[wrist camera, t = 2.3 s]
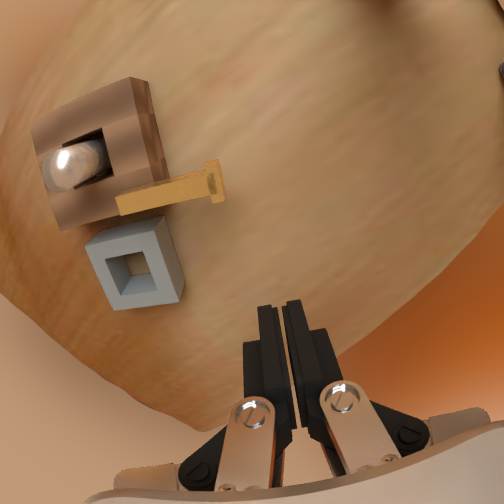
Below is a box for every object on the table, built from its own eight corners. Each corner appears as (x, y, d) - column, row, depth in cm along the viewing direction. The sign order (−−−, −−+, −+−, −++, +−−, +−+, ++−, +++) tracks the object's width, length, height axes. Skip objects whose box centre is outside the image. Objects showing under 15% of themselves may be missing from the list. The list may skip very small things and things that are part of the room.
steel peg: (92, 141, 31) (37, 159, 20) (118, 131, 31) (67, 144, 20) (100, 170, 33) (48, 198, 22) (126, 161, 33) (79, 186, 22)
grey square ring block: (100, 230, 37) (84, 246, 32) (164, 215, 36) (153, 230, 32) (124, 290, 41) (113, 310, 37) (185, 281, 41) (179, 302, 36)
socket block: (55, 119, 29) (29, 124, 24) (147, 81, 28) (129, 76, 23) (82, 214, 35) (60, 231, 30) (172, 189, 35) (160, 204, 29)
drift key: (121, 183, 28) (112, 189, 26) (218, 159, 27) (216, 163, 25) (131, 214, 29) (123, 223, 27) (226, 193, 29) (224, 200, 27)
